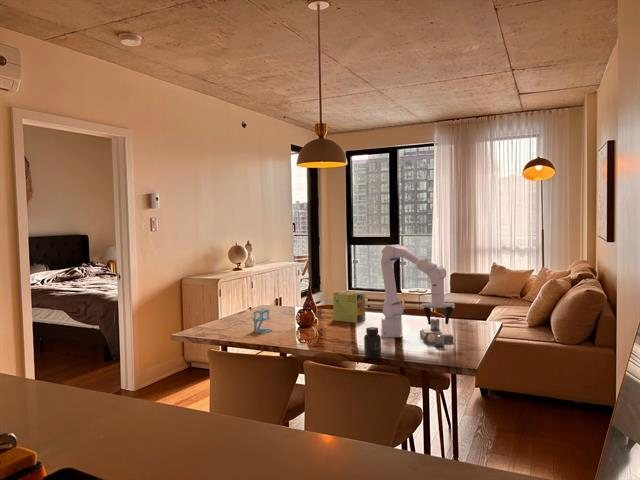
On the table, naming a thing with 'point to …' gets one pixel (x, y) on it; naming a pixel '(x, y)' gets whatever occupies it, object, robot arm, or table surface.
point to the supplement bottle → (372, 343)
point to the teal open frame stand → (261, 321)
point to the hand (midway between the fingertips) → (438, 324)
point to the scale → (429, 335)
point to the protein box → (349, 306)
